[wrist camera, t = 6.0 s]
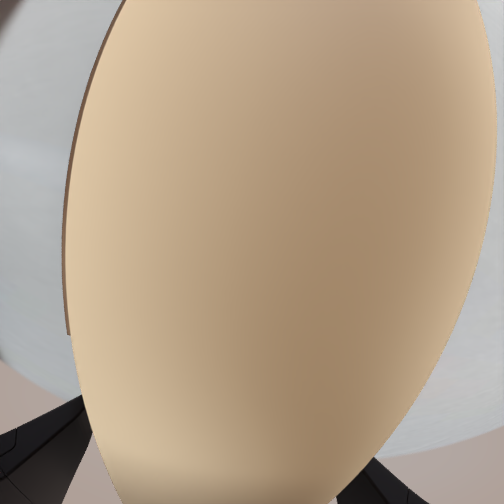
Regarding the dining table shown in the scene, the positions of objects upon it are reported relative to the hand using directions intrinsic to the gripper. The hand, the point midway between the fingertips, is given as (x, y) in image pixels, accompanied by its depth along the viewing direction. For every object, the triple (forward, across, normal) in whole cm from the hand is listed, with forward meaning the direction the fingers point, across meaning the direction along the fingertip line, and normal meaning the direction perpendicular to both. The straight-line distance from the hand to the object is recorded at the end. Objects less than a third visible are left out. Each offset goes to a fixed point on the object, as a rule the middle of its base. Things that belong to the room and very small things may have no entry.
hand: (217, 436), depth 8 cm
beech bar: (+1, 0, -8) cm, 8 cm away
